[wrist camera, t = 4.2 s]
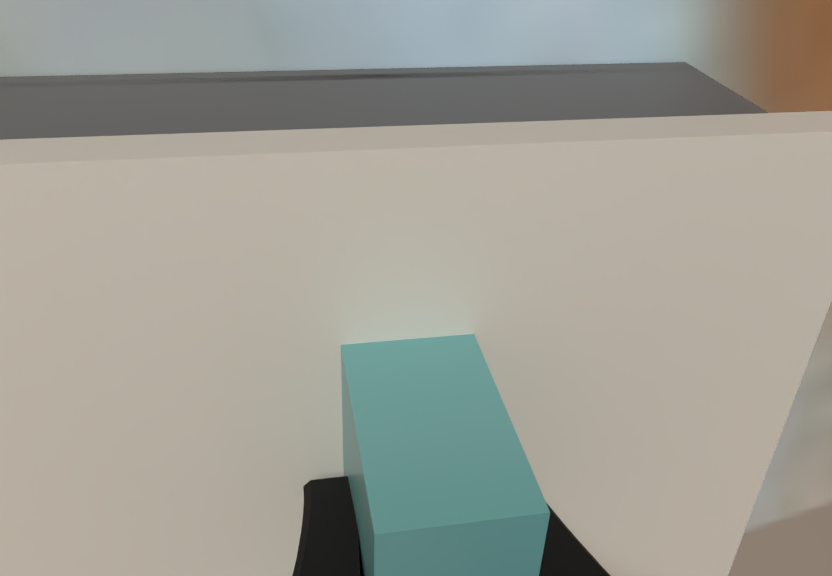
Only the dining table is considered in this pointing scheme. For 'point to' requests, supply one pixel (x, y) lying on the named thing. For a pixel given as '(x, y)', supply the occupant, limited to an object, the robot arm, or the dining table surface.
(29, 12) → the dining table surface
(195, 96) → the tub
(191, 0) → the dining table surface
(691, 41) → the dining table surface
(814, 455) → the dining table surface
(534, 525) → the lid
